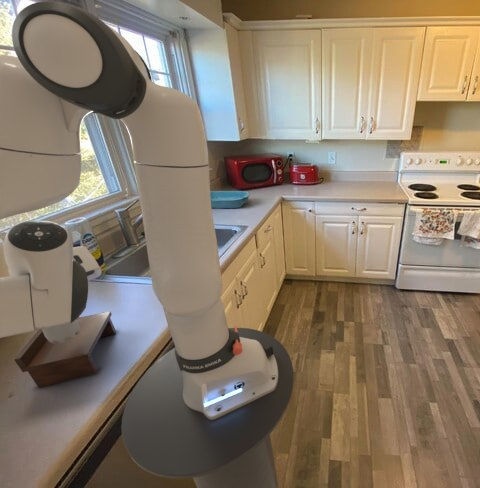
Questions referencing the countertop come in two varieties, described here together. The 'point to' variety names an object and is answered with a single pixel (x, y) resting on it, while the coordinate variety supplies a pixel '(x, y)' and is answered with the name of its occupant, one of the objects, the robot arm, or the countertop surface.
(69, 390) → the countertop surface
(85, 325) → the shelf
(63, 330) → the bottle
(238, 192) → the casserole dish
